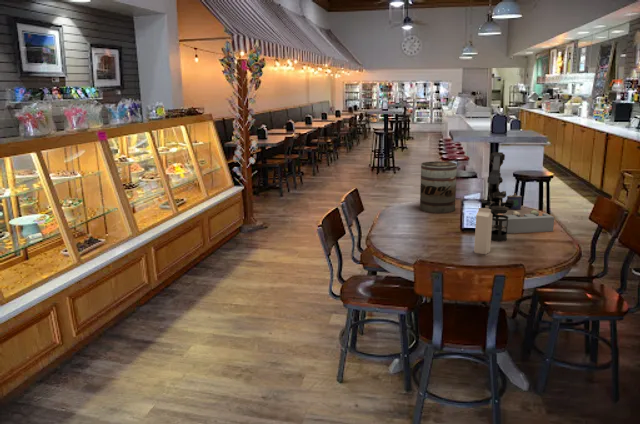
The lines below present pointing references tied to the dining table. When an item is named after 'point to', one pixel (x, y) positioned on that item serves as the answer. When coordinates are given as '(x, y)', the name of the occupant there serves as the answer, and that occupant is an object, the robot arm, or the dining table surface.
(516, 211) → the cream button
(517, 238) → the dining table surface
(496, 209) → the french press
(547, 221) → the block
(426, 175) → the barrel
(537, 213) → the pale green rounded cylinder
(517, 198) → the flask
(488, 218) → the milk
